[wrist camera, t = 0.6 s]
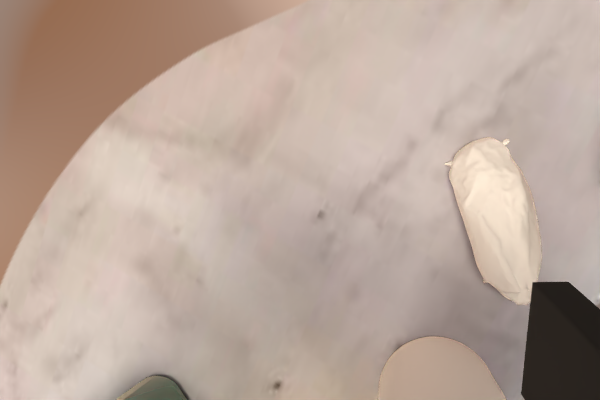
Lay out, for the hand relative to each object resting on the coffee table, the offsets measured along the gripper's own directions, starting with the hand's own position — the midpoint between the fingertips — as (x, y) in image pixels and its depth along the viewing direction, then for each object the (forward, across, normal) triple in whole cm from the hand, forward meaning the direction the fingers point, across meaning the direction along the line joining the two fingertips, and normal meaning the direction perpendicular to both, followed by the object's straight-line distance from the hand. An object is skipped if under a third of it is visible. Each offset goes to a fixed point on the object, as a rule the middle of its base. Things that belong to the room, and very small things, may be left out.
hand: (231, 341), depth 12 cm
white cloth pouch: (+27, -14, +5) cm, 31 cm away
